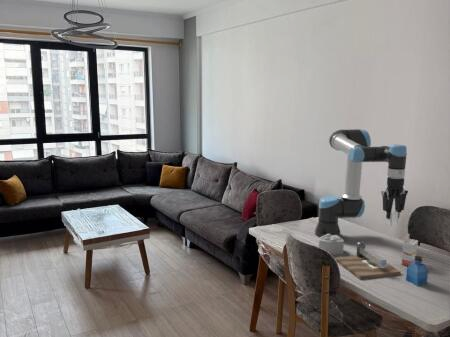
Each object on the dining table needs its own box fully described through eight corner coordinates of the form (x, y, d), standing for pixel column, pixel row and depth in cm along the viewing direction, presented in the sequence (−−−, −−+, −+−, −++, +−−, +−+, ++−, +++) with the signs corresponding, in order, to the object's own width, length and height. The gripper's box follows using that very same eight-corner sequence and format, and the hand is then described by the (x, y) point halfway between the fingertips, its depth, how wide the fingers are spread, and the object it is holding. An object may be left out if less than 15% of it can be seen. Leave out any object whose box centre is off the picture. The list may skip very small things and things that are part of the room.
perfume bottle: (416, 285, 185) (419, 260, 182) (405, 280, 190) (408, 255, 188) (426, 283, 187) (429, 258, 185) (415, 278, 193) (417, 253, 190)
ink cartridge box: (411, 267, 205) (414, 239, 202) (401, 264, 208) (403, 236, 205) (416, 262, 211) (418, 234, 209) (406, 259, 214) (408, 232, 212)
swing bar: (355, 254, 216) (355, 241, 215) (361, 253, 217) (362, 240, 216) (379, 270, 196) (380, 256, 195) (386, 269, 197) (387, 255, 196)
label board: (334, 260, 213) (334, 256, 212) (372, 256, 218) (372, 252, 218) (359, 279, 191) (359, 275, 190) (400, 274, 196) (400, 270, 196)
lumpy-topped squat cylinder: (345, 254, 221) (345, 238, 220) (321, 255, 220) (322, 239, 218) (337, 247, 232) (338, 232, 230) (315, 248, 230) (315, 233, 228)
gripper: (386, 179, 190) (382, 228, 194) (415, 178, 193) (411, 225, 197) (376, 176, 197) (373, 223, 201) (404, 175, 201) (400, 221, 205)
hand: (392, 224), depth 199 cm, fingers open, 3 cm apart
